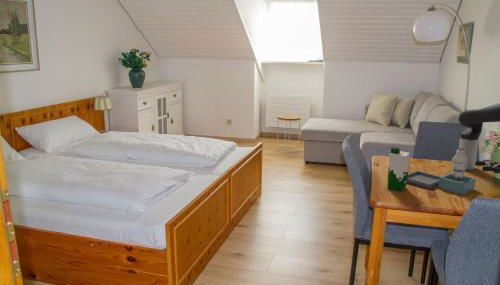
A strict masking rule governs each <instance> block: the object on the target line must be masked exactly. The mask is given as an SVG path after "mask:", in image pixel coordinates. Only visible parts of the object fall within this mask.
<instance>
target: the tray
mask: <svg viewBox="0 0 500 285" xmlns="http://www.w3.org/2000/svg"><path fill="white" fill-rule="evenodd" d="M440 177H442V175H441V176H440V175H436V174H433V173H429V172H425V171H422V170H417V169H416V170H414V171H411V172H408V179H407V184H410V185H413V186H417V187H419V188H422V189H423V188H424V189H427V190H431V189H434V188H436V187H439V179H440Z"/></svg>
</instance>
